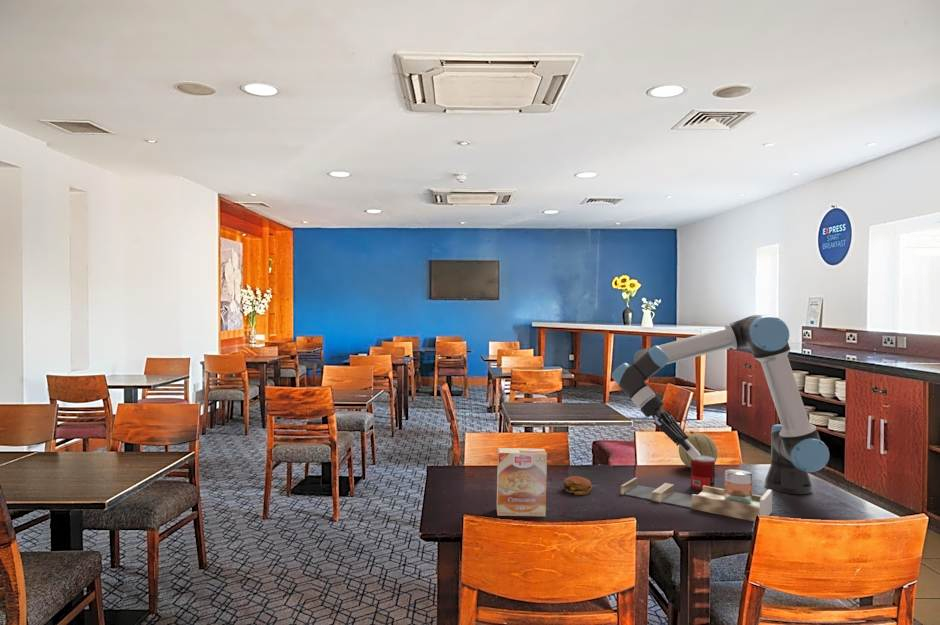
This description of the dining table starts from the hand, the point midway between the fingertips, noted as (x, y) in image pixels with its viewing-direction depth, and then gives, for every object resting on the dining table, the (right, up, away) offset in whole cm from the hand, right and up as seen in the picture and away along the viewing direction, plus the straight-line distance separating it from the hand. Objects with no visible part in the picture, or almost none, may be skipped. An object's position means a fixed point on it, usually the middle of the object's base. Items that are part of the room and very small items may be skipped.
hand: (697, 457), depth 204 cm
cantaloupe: (+16, -15, +44) cm, 49 cm away
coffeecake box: (-59, -15, -12) cm, 62 cm away
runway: (-1, -15, +1) cm, 15 cm away
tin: (+11, -13, -6) cm, 18 cm away
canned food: (+8, -16, +18) cm, 25 cm away
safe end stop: (+12, -16, -8) cm, 21 cm away
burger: (-37, -15, +12) cm, 42 cm away
